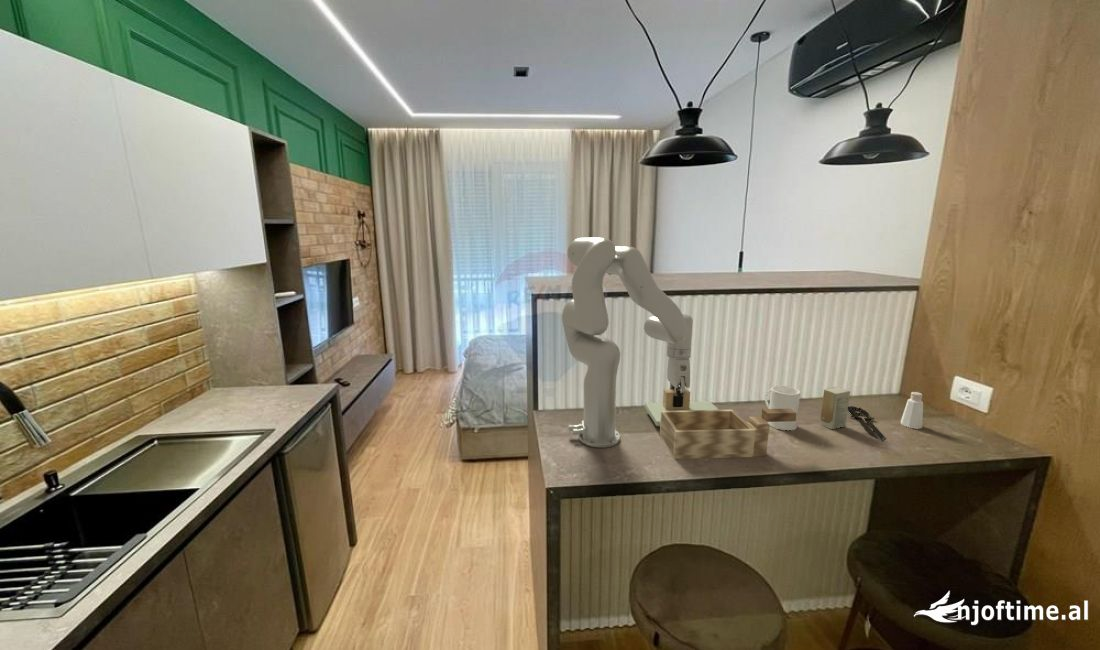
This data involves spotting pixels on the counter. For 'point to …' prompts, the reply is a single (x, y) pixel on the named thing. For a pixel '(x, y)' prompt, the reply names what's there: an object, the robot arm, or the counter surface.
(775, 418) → the rectangular brown block
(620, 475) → the counter surface
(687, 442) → the tan wooden open box
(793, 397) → the mug
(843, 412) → the skincare box
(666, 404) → the lid
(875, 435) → the knife
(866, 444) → the counter surface
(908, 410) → the pepper shaker
